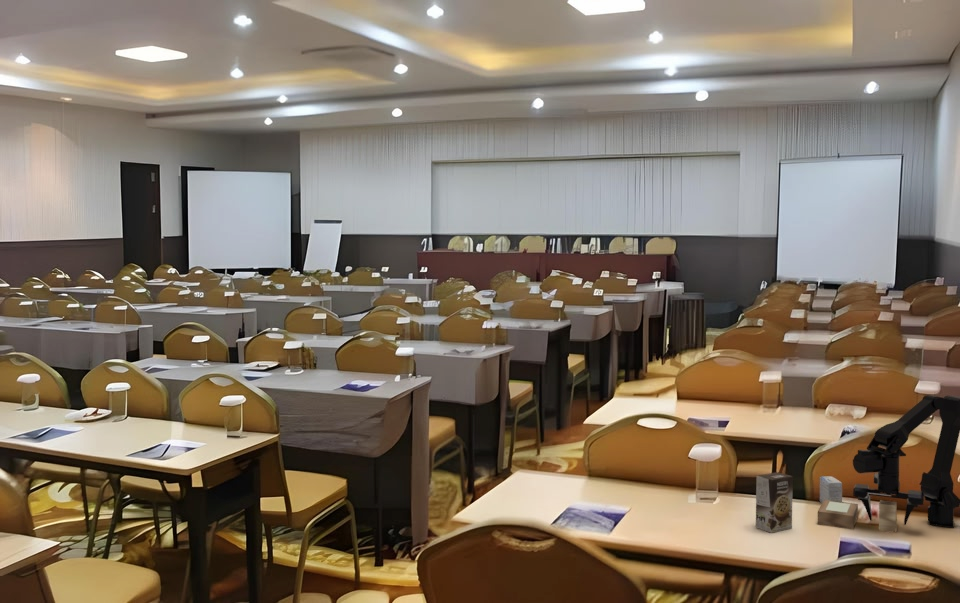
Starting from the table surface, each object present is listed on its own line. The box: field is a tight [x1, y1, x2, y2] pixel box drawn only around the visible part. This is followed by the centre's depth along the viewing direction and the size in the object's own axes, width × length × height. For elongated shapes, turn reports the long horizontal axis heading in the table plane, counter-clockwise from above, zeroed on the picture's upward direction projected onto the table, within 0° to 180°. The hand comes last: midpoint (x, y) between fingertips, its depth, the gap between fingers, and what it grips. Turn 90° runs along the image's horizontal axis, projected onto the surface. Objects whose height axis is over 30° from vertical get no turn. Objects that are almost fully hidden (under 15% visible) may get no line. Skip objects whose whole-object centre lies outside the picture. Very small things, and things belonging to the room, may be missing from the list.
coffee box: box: [755, 471, 794, 534], centre depth 247 cm, size 9×6×16 cm
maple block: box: [878, 499, 898, 533], centre depth 245 cm, size 4×4×8 cm
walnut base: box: [817, 500, 859, 530], centre depth 254 cm, size 10×14×4 cm
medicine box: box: [819, 475, 843, 504], centre depth 270 cm, size 8×4×9 cm, turn 179°
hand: (887, 522), depth 245 cm, fingers open, 9 cm apart
